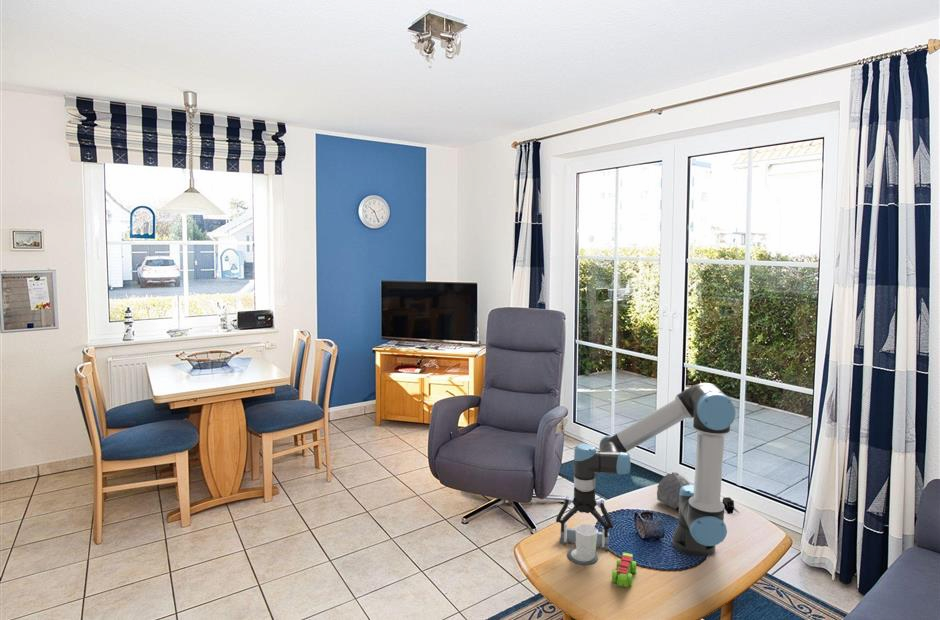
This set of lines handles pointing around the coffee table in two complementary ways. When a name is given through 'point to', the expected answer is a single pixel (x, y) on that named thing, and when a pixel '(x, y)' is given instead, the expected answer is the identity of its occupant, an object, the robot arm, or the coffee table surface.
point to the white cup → (586, 541)
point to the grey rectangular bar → (572, 538)
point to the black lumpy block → (729, 505)
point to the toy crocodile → (624, 570)
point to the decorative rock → (671, 489)
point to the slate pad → (574, 558)
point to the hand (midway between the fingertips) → (584, 542)
